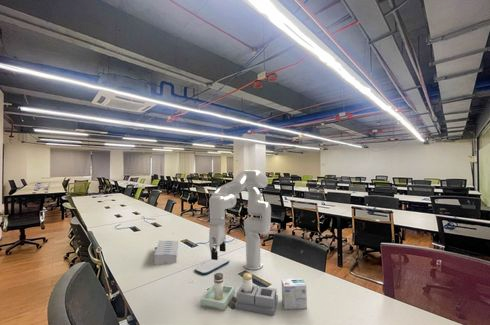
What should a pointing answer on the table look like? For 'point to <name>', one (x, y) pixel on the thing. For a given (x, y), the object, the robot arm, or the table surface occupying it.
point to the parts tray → (221, 304)
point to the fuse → (247, 283)
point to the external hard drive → (211, 266)
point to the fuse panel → (257, 300)
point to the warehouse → (166, 252)
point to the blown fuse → (218, 286)
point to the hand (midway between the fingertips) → (218, 255)
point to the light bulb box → (294, 293)
